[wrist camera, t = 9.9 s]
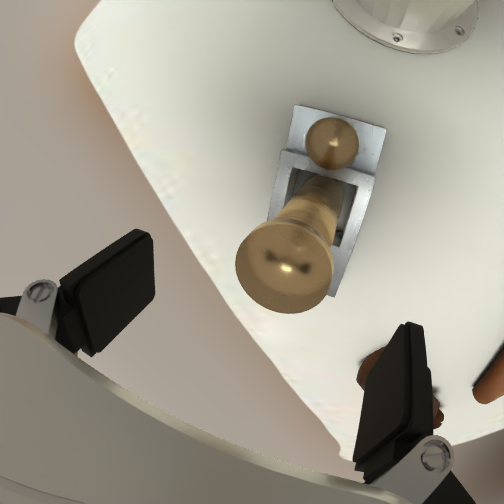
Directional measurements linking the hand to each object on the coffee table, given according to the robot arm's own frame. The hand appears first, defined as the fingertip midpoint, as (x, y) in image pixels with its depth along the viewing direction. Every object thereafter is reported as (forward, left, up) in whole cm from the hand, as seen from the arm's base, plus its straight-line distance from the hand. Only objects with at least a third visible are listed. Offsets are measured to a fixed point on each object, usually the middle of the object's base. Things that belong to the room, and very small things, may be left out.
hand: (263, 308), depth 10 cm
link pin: (+1, 0, -16) cm, 16 cm away
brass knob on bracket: (+1, 0, -16) cm, 16 cm away
